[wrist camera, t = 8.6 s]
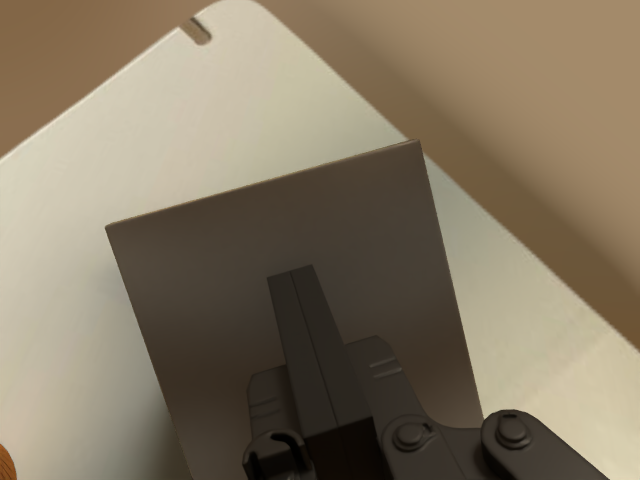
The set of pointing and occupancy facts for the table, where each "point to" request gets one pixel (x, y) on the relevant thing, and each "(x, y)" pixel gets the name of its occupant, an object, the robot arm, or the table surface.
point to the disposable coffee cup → (6, 466)
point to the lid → (281, 256)
